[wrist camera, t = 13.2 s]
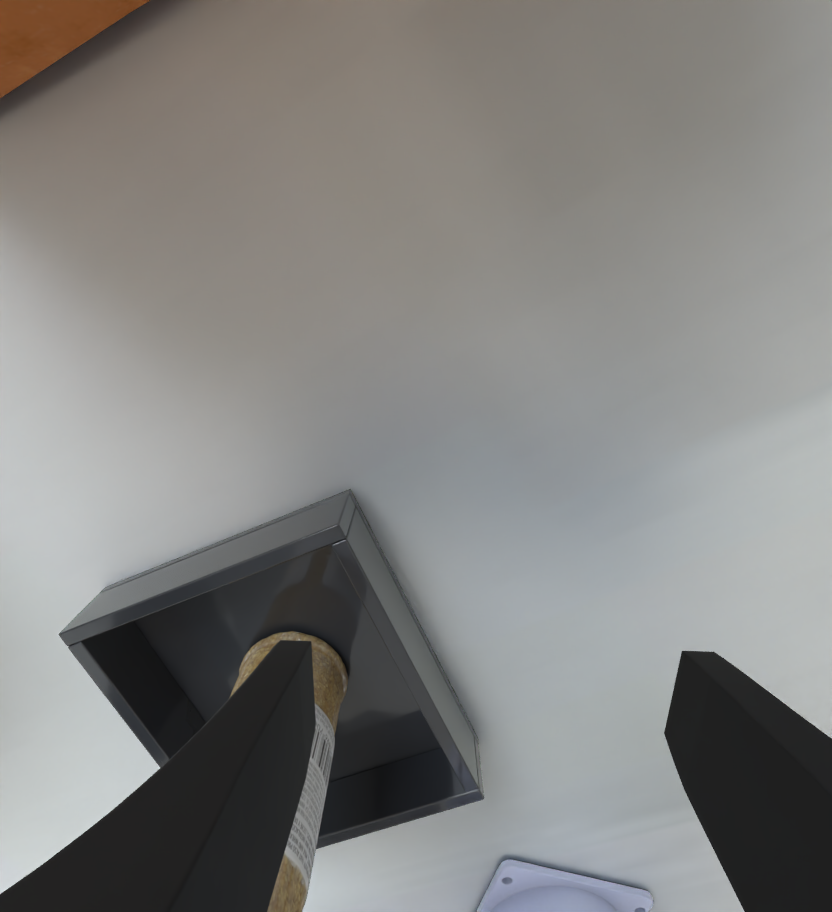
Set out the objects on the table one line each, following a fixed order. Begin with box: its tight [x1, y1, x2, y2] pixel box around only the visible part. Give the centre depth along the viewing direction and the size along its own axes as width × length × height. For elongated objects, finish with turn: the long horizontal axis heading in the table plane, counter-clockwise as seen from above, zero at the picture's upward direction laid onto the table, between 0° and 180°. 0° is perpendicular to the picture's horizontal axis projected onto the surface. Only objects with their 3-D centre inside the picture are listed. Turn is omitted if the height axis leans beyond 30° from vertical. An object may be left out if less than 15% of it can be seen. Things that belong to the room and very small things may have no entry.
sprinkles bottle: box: [229, 631, 348, 912], centre depth 17 cm, size 5×5×13 cm
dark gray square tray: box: [59, 489, 484, 849], centre depth 22 cm, size 13×11×3 cm
